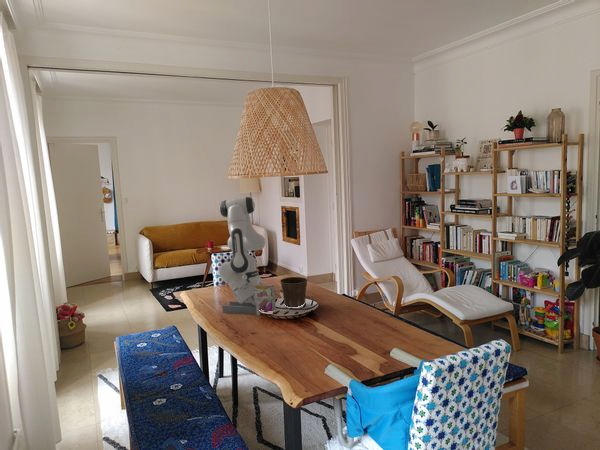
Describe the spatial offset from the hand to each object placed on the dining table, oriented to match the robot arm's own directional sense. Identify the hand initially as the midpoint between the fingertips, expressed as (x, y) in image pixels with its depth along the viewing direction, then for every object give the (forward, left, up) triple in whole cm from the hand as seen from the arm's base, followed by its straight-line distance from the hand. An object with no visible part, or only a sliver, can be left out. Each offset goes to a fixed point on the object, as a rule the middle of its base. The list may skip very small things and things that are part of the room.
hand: (255, 303), depth 257 cm
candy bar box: (+1, +6, -5) cm, 8 cm away
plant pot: (-14, +18, -5) cm, 24 cm away
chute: (0, -8, -5) cm, 9 cm away
